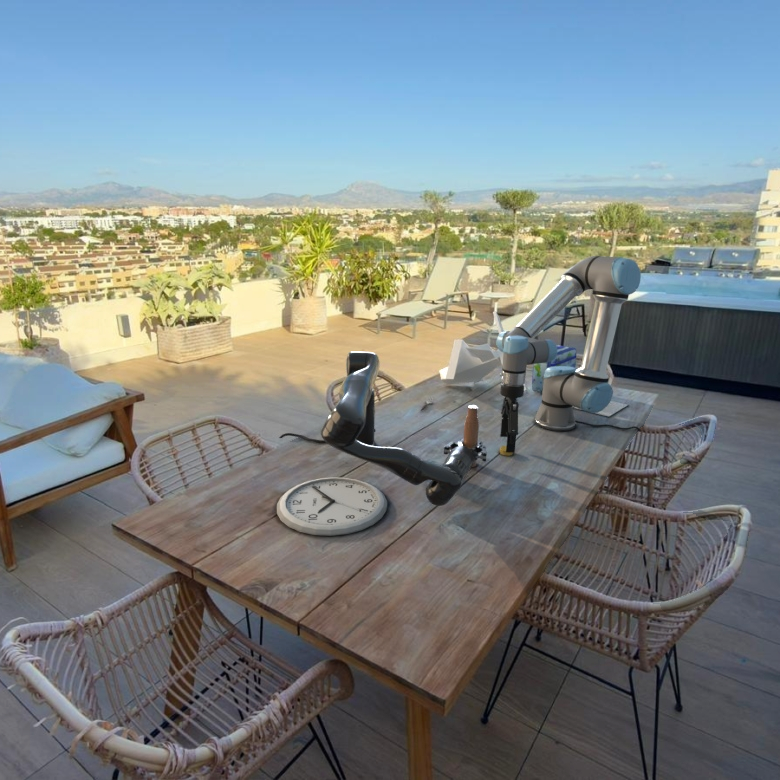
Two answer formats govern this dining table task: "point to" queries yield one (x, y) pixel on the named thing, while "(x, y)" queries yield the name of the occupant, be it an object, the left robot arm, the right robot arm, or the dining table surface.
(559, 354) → the lunch box
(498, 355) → the white plastic object
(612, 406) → the invitation card
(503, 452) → the cap
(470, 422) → the bottle
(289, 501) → the wall clock
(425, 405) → the fork
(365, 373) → the left robot arm
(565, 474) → the dining table surface
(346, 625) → the dining table surface
